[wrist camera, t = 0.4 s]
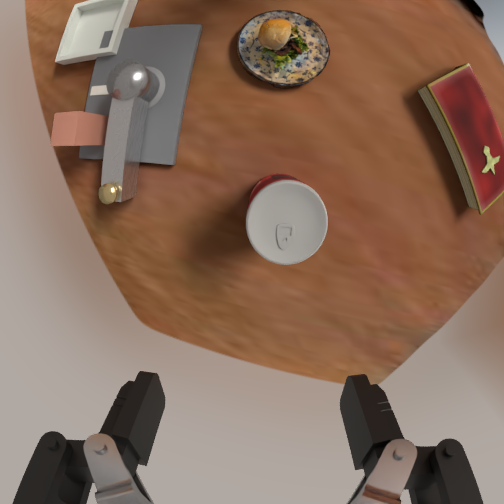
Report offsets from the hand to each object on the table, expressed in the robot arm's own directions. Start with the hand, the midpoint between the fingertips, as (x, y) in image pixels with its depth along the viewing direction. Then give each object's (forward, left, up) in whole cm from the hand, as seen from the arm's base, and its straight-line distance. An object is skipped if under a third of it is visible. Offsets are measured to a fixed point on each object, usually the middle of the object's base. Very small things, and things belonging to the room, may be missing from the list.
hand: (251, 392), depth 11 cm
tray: (-27, -29, -28) cm, 48 cm away
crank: (-10, -18, -26) cm, 33 cm away
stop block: (-10, -24, -27) cm, 37 cm away
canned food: (-3, +2, -28) cm, 28 cm away
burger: (-24, -1, -28) cm, 37 cm away
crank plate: (-16, -19, -28) cm, 37 cm away
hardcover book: (-21, +30, -28) cm, 47 cm away
